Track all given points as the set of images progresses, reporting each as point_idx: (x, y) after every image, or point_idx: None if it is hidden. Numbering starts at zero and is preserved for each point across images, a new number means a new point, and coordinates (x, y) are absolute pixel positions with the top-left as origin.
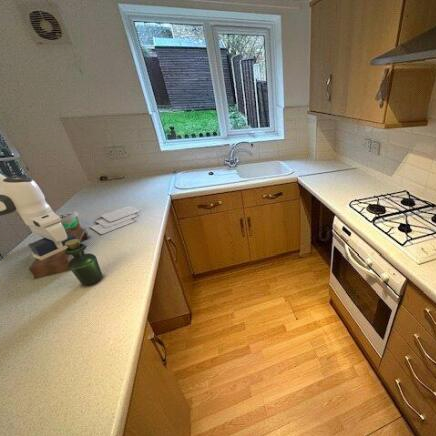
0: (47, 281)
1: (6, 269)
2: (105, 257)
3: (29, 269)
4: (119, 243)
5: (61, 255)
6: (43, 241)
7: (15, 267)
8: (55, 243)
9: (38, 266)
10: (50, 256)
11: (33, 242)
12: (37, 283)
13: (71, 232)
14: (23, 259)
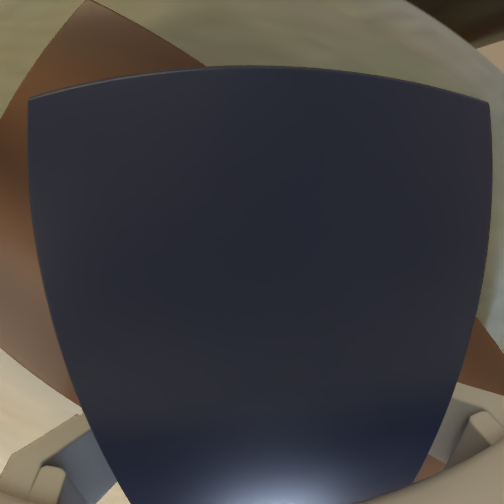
0: (6, 96)
1: (465, 44)
2: (8, 408)
3: (88, 5)
4: (113, 499)
5: (45, 306)
6: (249, 414)
7: (450, 69)
8: (45, 438)
9: (29, 71)
10: None
11: (479, 229)
12: (45, 46)
13: (440, 461)
14: (499, 148)
